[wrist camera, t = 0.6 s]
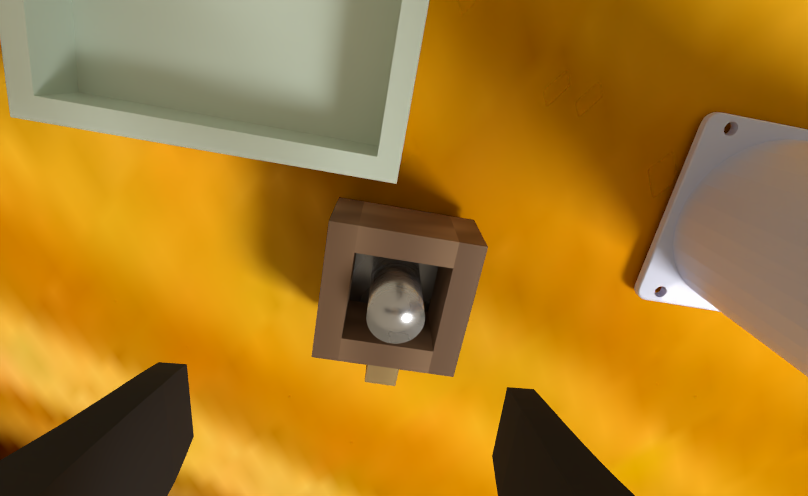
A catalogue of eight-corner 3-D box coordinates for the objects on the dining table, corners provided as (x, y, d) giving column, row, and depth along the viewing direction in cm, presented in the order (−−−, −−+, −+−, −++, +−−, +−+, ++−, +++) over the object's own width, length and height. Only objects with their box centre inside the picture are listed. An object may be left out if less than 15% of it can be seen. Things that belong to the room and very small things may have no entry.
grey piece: (464, 220, 19) (484, 264, 15) (440, 323, 21) (451, 387, 17) (346, 200, 19) (331, 239, 14) (331, 307, 20) (314, 368, 16)
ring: (474, 219, 18) (487, 247, 16) (441, 349, 21) (448, 393, 18) (339, 197, 18) (329, 220, 15) (321, 332, 20) (309, 374, 18)
